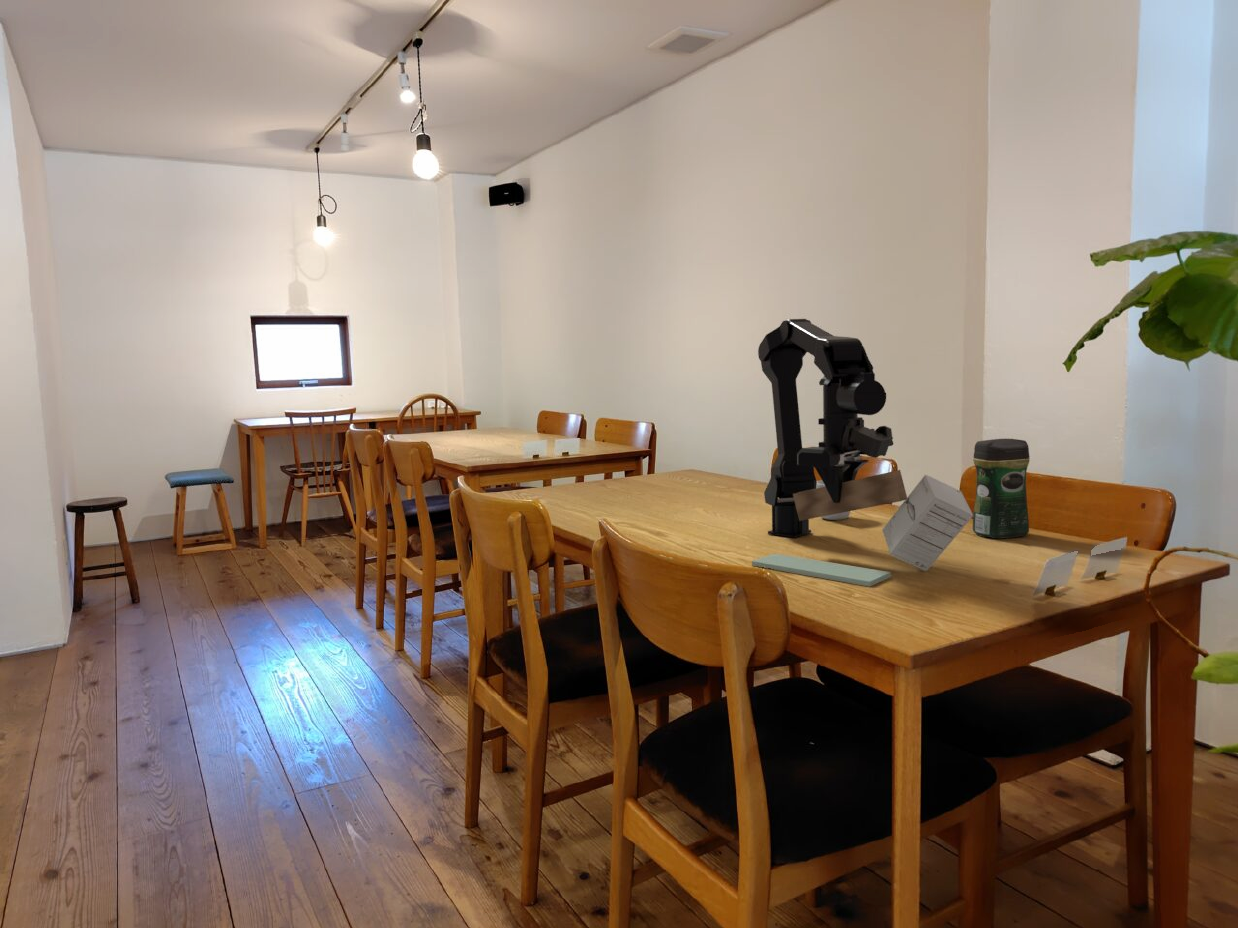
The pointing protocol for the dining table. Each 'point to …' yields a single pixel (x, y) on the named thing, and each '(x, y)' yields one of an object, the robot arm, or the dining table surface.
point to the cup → (834, 516)
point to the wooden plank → (852, 496)
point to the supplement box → (926, 523)
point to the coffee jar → (1001, 488)
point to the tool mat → (823, 569)
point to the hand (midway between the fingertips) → (840, 501)
